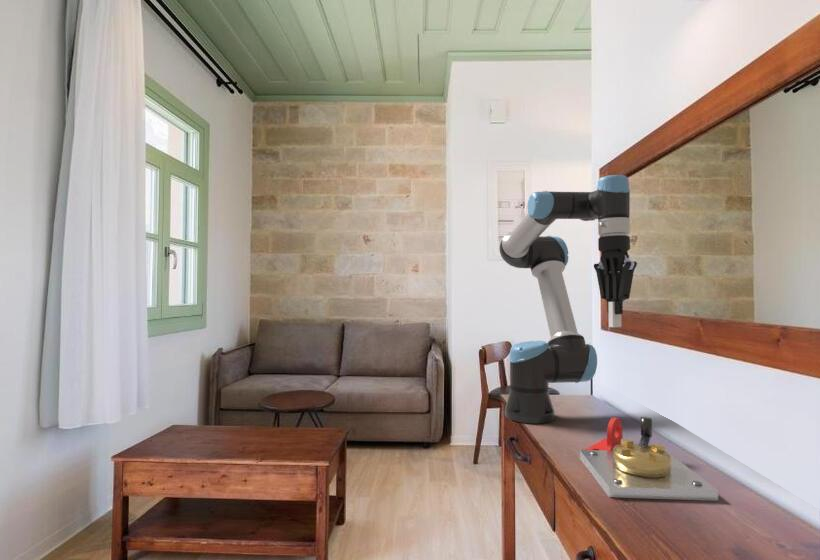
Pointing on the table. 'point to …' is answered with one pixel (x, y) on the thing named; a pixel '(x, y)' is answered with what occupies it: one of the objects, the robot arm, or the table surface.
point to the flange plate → (647, 480)
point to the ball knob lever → (642, 455)
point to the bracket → (610, 436)
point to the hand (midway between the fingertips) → (615, 326)
